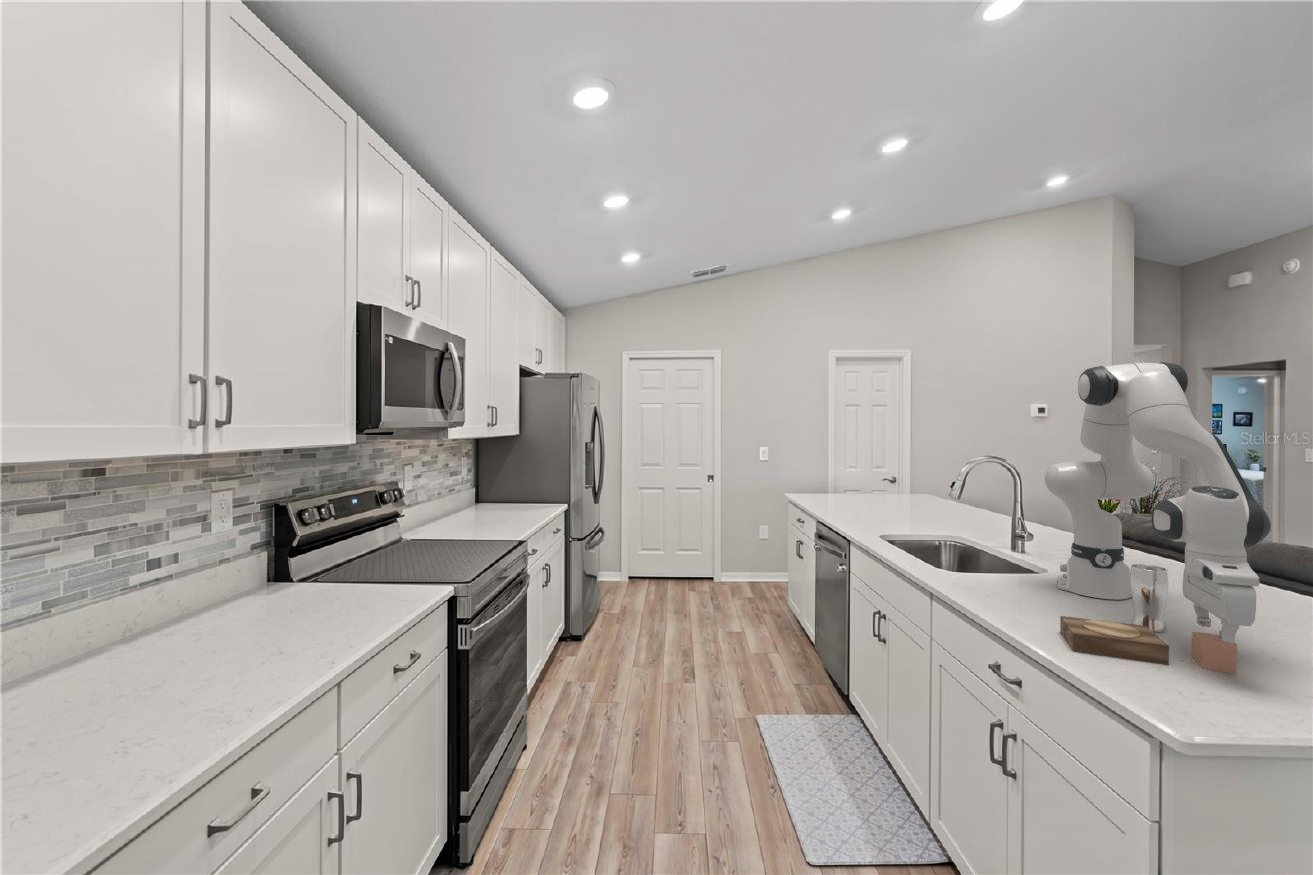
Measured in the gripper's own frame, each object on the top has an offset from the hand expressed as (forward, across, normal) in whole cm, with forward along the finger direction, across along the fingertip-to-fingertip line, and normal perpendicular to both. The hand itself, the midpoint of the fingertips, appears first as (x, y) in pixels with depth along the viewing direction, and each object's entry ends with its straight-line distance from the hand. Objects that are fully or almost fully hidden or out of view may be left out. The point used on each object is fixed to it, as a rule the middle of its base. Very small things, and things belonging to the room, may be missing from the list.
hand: (1215, 633), depth 110 cm
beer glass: (+7, -22, -4) cm, 23 cm away
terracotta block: (+7, 0, 0) cm, 7 cm away
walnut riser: (+7, -4, -16) cm, 18 cm away
